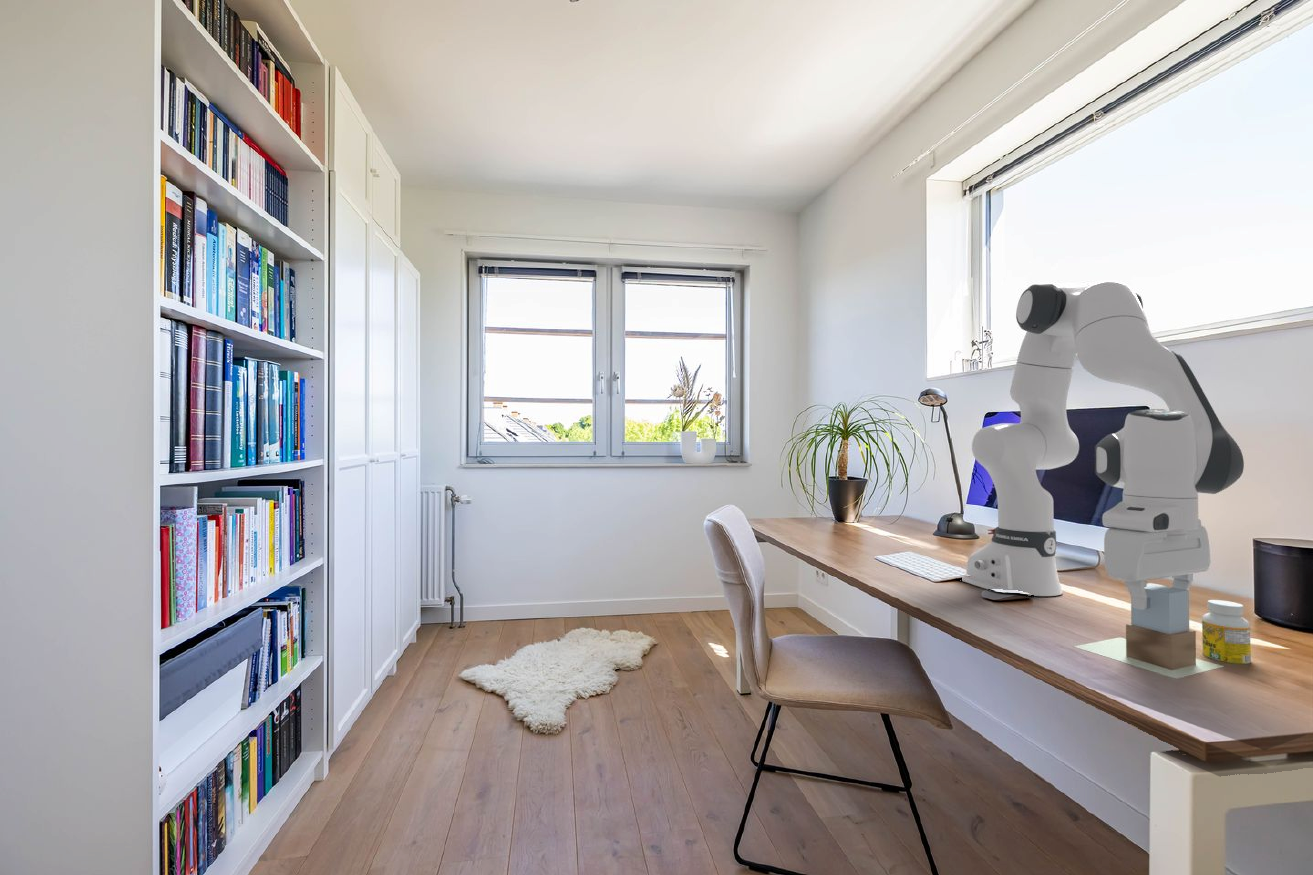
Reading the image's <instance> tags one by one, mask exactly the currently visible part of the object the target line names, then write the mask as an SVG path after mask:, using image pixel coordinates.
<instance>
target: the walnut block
mask: <svg viewBox="0 0 1313 875" xmlns="http://www.w3.org/2000/svg"><path fill="white" fill-rule="evenodd" d="M1196 635H1197V630H1193V629H1189V630H1188V631H1184V632H1179V633H1174V634H1166V633H1162V632H1158V631H1154V630H1150V629H1146V628H1142V627H1138V626H1134V625H1131V622H1130V623H1126V624H1125V639H1126V656H1127V657H1130V658H1133V659H1136V660H1140V661H1143V662H1146V663H1150V664H1153V665H1156V666H1160V667H1163V668H1166V669H1170V670H1175V669H1179V668H1183V667H1187V666H1192V665H1196V659H1197V641H1196V639H1197V637H1196Z"/></svg>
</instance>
